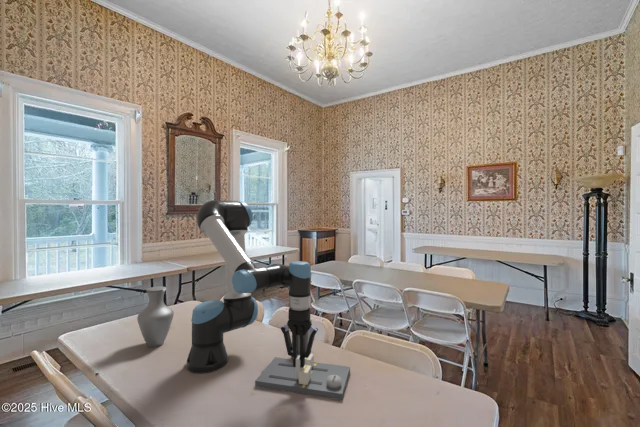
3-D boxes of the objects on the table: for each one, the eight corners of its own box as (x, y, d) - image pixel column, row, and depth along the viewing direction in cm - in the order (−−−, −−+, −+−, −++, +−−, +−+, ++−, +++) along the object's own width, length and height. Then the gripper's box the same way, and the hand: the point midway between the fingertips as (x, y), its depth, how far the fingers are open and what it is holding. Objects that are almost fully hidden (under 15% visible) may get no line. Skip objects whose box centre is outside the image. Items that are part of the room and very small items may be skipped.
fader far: (302, 370, 112) (302, 358, 112) (305, 363, 117) (306, 352, 117) (309, 371, 111) (310, 359, 111) (313, 364, 116) (313, 353, 116)
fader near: (298, 383, 103) (298, 371, 103) (303, 376, 108) (303, 364, 108) (307, 385, 102) (307, 372, 102) (311, 377, 107) (311, 365, 107)
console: (255, 386, 105) (255, 374, 105) (275, 362, 122) (275, 351, 122) (342, 400, 98) (342, 387, 98) (350, 372, 115) (350, 361, 115)
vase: (129, 347, 134) (129, 290, 134) (157, 335, 147) (158, 283, 147) (153, 353, 129) (153, 293, 129) (180, 340, 142) (181, 286, 142)
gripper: (277, 308, 103) (276, 379, 103) (315, 312, 100) (314, 384, 100) (285, 302, 111) (284, 368, 110) (320, 305, 108) (319, 373, 107)
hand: (298, 376), depth 105 cm, fingers closed
